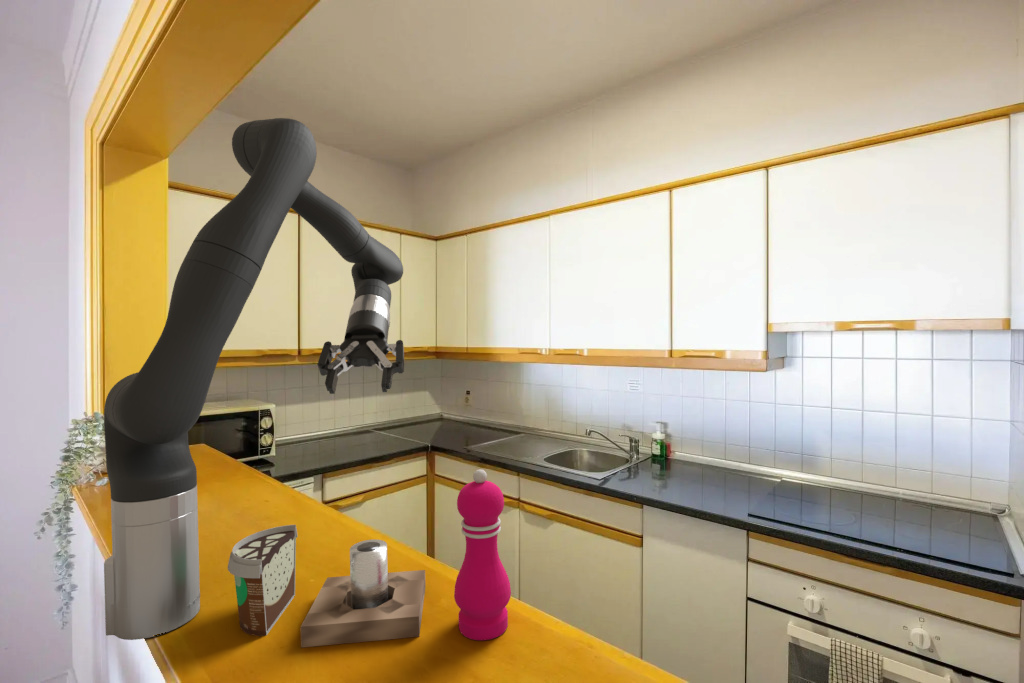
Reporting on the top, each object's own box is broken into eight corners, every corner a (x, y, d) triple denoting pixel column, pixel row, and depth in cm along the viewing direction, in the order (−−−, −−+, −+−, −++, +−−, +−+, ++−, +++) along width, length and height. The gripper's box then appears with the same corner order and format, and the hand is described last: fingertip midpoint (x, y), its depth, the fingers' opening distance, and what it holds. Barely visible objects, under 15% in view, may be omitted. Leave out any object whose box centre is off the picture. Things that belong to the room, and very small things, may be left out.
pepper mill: (460, 649, 56) (456, 480, 56) (450, 615, 63) (447, 465, 63) (518, 637, 58) (515, 474, 58) (503, 605, 65) (500, 460, 65)
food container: (256, 592, 70) (254, 525, 70) (298, 590, 71) (297, 523, 71) (208, 646, 58) (206, 564, 58) (261, 643, 58) (259, 561, 58)
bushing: (347, 625, 62) (346, 555, 62) (355, 605, 66) (354, 540, 66) (385, 622, 62) (384, 553, 62) (390, 602, 67) (389, 538, 67)
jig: (301, 647, 57) (300, 626, 57) (327, 594, 69) (327, 577, 69) (419, 636, 59) (418, 616, 59) (425, 586, 71) (425, 569, 71)
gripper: (325, 309, 87) (307, 376, 76) (405, 308, 89) (399, 374, 77) (333, 338, 92) (318, 405, 81) (408, 336, 94) (403, 402, 83)
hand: (357, 390), depth 79 cm, fingers open, 8 cm apart
